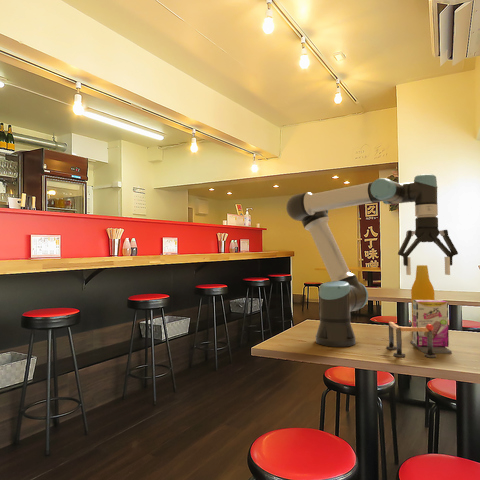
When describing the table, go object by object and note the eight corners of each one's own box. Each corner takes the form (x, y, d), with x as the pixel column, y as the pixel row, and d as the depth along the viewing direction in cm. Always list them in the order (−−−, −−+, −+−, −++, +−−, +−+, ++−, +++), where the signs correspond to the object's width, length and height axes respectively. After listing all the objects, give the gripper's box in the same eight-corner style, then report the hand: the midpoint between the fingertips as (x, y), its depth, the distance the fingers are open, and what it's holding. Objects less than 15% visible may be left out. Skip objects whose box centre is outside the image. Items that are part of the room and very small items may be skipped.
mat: (424, 353, 135) (424, 350, 135) (410, 342, 150) (410, 340, 150) (451, 353, 134) (451, 351, 134) (435, 343, 149) (435, 341, 149)
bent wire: (395, 357, 131) (394, 324, 131) (385, 347, 144) (384, 317, 144) (438, 358, 129) (437, 325, 129) (423, 347, 142) (423, 318, 143)
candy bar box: (417, 347, 140) (416, 301, 141) (412, 343, 145) (411, 299, 146) (450, 347, 139) (448, 301, 140) (444, 344, 144) (442, 299, 145)
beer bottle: (422, 335, 164) (420, 265, 164) (407, 331, 172) (405, 265, 173) (440, 333, 166) (438, 265, 167) (424, 329, 175) (423, 264, 176)
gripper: (393, 216, 142) (395, 275, 141) (467, 215, 139) (468, 275, 138) (388, 218, 149) (389, 274, 148) (457, 217, 146) (459, 274, 145)
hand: (427, 274), depth 143 cm, fingers open, 13 cm apart
